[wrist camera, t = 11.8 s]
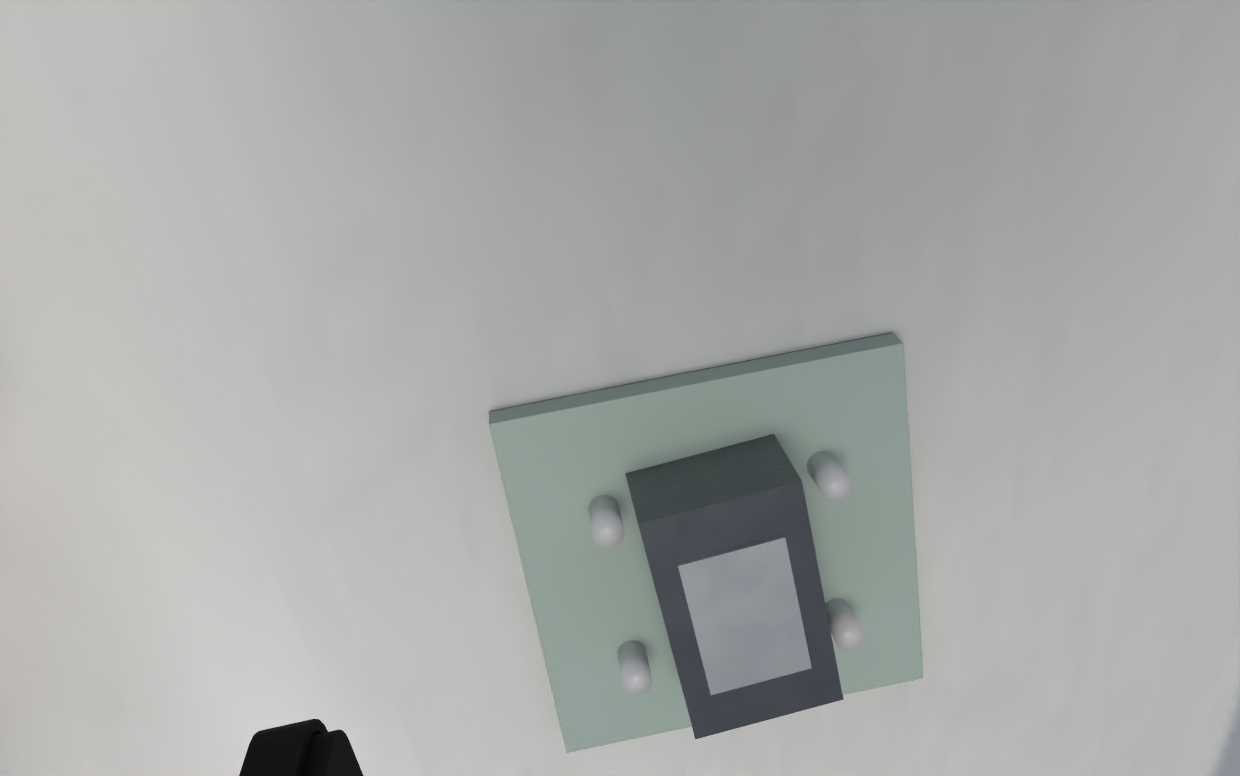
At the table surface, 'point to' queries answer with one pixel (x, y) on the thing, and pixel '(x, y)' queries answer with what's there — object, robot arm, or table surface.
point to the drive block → (737, 584)
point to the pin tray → (681, 427)
